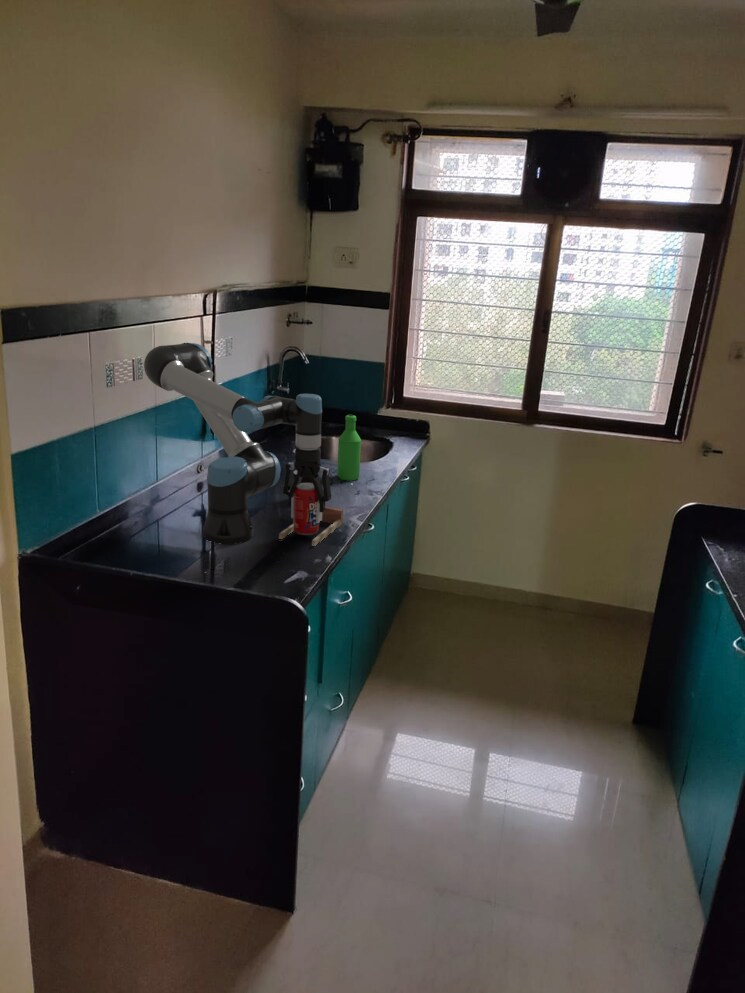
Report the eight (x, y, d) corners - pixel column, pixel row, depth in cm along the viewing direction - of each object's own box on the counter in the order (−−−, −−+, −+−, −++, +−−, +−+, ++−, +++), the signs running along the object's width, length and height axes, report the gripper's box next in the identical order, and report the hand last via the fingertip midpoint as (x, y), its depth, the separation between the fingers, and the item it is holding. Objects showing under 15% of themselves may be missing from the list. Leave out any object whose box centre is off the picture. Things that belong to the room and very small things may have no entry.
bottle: (362, 480, 276) (365, 417, 268) (341, 482, 273) (344, 418, 265) (354, 474, 284) (357, 412, 276) (334, 475, 281) (336, 413, 273)
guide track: (314, 546, 210) (315, 531, 209) (278, 539, 214) (279, 524, 212) (342, 523, 230) (343, 509, 229) (309, 517, 234) (309, 503, 232)
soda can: (290, 528, 220) (291, 482, 215) (315, 526, 222) (316, 481, 217) (296, 537, 213) (297, 490, 208) (321, 535, 215) (323, 488, 210)
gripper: (345, 448, 209) (342, 521, 216) (283, 439, 216) (282, 510, 223) (334, 454, 202) (332, 528, 209) (271, 445, 209) (270, 517, 216)
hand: (306, 519), depth 216 cm, fingers closed on soda can, 8 cm apart
